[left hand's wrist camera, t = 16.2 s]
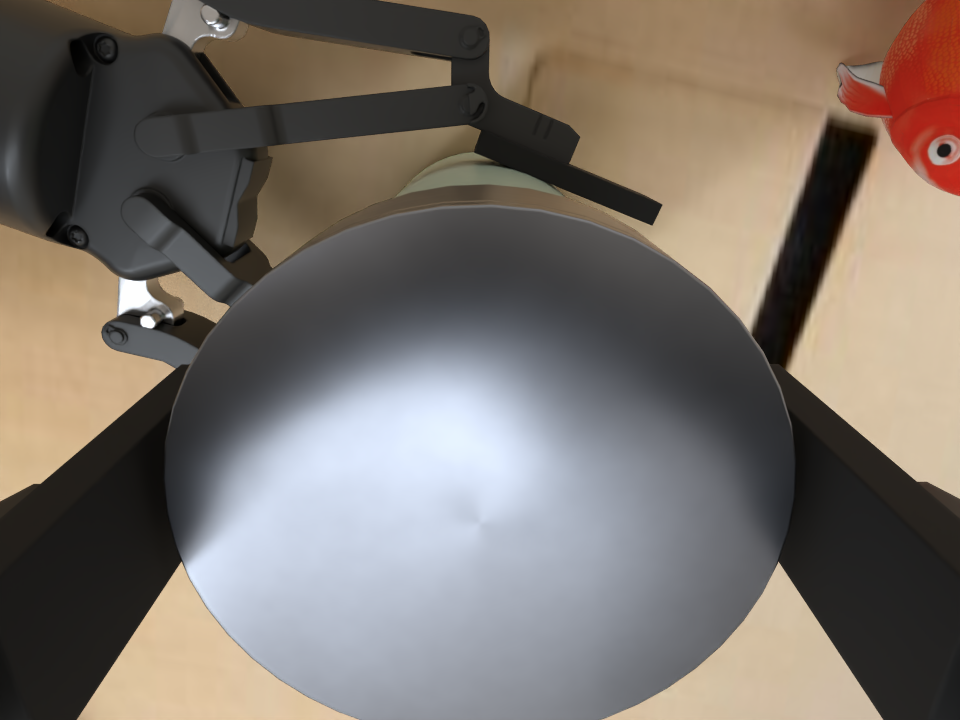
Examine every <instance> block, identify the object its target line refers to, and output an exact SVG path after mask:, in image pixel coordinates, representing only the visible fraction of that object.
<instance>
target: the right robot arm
mask: <svg viewBox="0 0 960 720" xmlns="http://www.w3.org/2000/svg"><path fill="white" fill-rule="evenodd" d="M249 25H252V26H255V27H257V28H260V29H263V30H266V31H269V32H272V33H276V34H281V35H285V36H292V37H298V38H305V39H311V40H317V41H324V42H330V43H337V44H343V45H349V46H356V47H362V48H368V49H375V50H381V51H388V52H394V53H400V54H407V55H413V56H420V57H426V58H432V59H439V60H445V61H451V86H443V87H434V88H425V89H416V90H406V91H397V92H388V93H379V94H370V95H361V96H351V97H342V98H333V99H324V100H315V101H305V102H296V103H287V104H278V105H264V106H253V107H243V105H242V104H241V103H240V101H239V100H238V98H237V97H236V96H235V94H234V93H233V92H232V90H231V89H230V87H229V86H228V85H227V83H226V82H225V81H224V79H223V78H222V77H221V75H220V74H219V72H218V71H217V70H216V68H215V67H214V66H213V64H212V63H211V61H210V60H209V59H208V57H207V56H206V55H205V53H204V52H203V51H204V49H205V47H206V45H207V44H208V43H209V42H211V41H213V40H216V39H222V40H226V41H230V42H234V41H238V40H240V39H242V38H243V37H244V36H245V34H246V32H247V29H248V27H249ZM489 41H490V40H489V31H488V28H487V26H486V24H485V23H484V22H483V21H482V20H481V19H480V18H477V17H475V16H472V15H465V14H459V13H453V12H447V11H440V10H434V9H428V8H422V7H416V6H409V5H403V4H397V3H391V2H384V1H378V0H172V3H171V6H170V9H169V13H168V16H167V19H166V23H165V26H164V29H163V32H162V34H161V33H154V34H148V35H142V36H134V35H131V34H128V33H125V32H123V31H120V30H118V29H115V28H113V27H110V26H108V25H105V24H103V23H100V22H98V21H95V20H93V19H91V18H88V17H86V16H83V15H81V14H78V13H76V12H73V11H71V10H68V9H66V8H63V7H61V6H58V5H56V4H53V3H51V2H48V1H46V0H0V224H2V225H5V226H8V227H11V228H14V229H16V230H19V231H22V232H25V233H28V234H30V235H33V236H36V237H39V238H42V239H45V240H47V241H51V242H54V243H58V244H61V245H65V246H69V247H73V248H77V249H80V250H83V251H85V252H87V253H89V254H91V255H93V256H94V257H95V258H97V259H98V260H99V261H101V262H102V263H103V264H104V265H105V266H106V267H107V268H108V269H109V270H110V271H111V272H113V273H114V274H116V275H117V276H119V286H118V309H117V317H116V318H114V319H112V320H111V321H109V322H107V323H106V324H105V325H104V326H103V328H102V332H101V333H102V338H103V340H104V342H105V343H106V344H107V345H108V346H109V347H110V348H112V349H114V350H117V351H120V352H125V353H129V354H133V355H138V356H142V357H146V358H151V359H155V360H160V361H164V362H165V363H167V364H169V365H171V366H172V367H174V368H178V367H179V366H180V365H181V364H191V362H192V360H193V359H194V357H195V355H196V353H197V352H198V350H199V348H200V347H201V345H202V343H203V341H204V340H205V338H206V336H207V335H208V334H209V332H210V331H211V330H212V329H213V328H214V326H215V325H216V323H214V322H212V321H210V320H209V319H207V318H205V317H202V316H200V315H197V314H195V313H192V312H189V311H186V310H184V308H183V307H184V302H183V301H182V299H180V298H179V297H174V296H172V295H170V294H168V293H166V292H165V291H164V290H163V289H162V287H161V286H160V284H159V281H158V277H161V276H165V275H169V274H172V273H176V272H180V271H182V272H183V273H184V274H185V275H186V276H187V277H188V278H190V279H191V280H192V281H193V282H194V283H195V284H196V285H197V286H198V287H199V288H200V289H202V290H203V291H204V292H205V293H206V294H207V295H208V296H209V297H211V298H212V299H213V300H215V301H217V302H221V303H225V304H227V305H229V306H230V307H231V306H232V304H233V303H234V302H235V301H236V300H238V299H239V298H240V297H241V296H242V295H243V294H244V293H245V292H246V291H248V290H249V289H250V288H251V287H252V286H253V285H254V284H255V283H256V282H258V281H259V280H260V279H261V278H262V277H263V276H264V275H265V274H266V273H268V272H269V271H270V270H272V267H271V266H270V264H269V261H268V259H267V257H266V256H265V254H264V253H263V252H262V251H261V250H260V249H259V248H258V247H257V246H256V245H254V244H253V243H252V242H251V241H250V240H249V239H250V238H252V237H253V234H254V230H255V226H256V222H257V195H258V193H259V192H260V190H261V188H262V187H263V185H264V183H265V181H266V180H267V178H268V174H269V170H270V167H271V163H272V159H273V157H270V156H268V150H267V146H274V145H282V144H290V143H300V142H309V141H319V140H328V139H337V138H347V137H356V136H366V135H375V134H384V133H394V132H403V131H413V130H422V129H431V128H441V127H450V126H460V125H470V126H472V127H475V128H477V129H479V130H481V133H480V135H479V138H478V141H477V144H476V146H475V151H474V153H476V154H479V155H481V156H483V157H486V158H488V159H491V160H493V161H496V162H498V163H501V164H503V165H505V166H508V167H510V168H513V169H515V170H518V171H520V172H523V173H525V174H528V175H530V176H532V177H535V178H537V179H540V180H542V181H545V182H547V183H549V184H552V185H554V186H557V187H559V188H562V189H564V190H567V191H569V192H571V193H574V194H576V195H579V196H581V197H584V198H586V199H589V200H591V201H593V202H596V203H598V204H601V205H603V206H606V207H608V208H610V209H613V210H615V211H618V212H620V213H623V214H625V215H628V216H630V217H632V218H635V219H637V220H640V221H642V222H645V223H647V224H650V225H653V223H654V221H655V219H656V217H657V215H658V213H659V211H660V209H661V207H662V204H660V203H658V202H656V201H654V200H653V199H651V198H649V197H647V196H645V195H643V194H640V193H638V192H636V191H633V190H631V189H628V188H626V187H624V186H621V185H619V184H616V183H614V182H612V181H609V180H607V179H604V178H602V177H600V176H597V175H595V174H592V173H590V172H587V171H585V170H583V169H580V168H578V167H575V166H573V165H571V164H569V162H570V160H571V158H572V155H573V153H574V151H575V148H576V146H577V144H578V141H579V139H580V136H579V135H578V134H577V133H576V132H575V131H574V130H573V129H572V128H571V127H570V126H569V125H567V124H565V123H562V122H560V121H558V120H555V119H553V118H551V117H548V116H546V115H544V114H541V113H539V112H537V111H534V110H532V109H530V108H527V107H525V106H523V105H520V104H518V103H515V102H513V101H511V100H508V99H506V98H504V97H502V96H500V95H499V94H498V93H497V92H496V91H495V90H494V88H493V87H492V85H491V82H490V79H489Z"/></svg>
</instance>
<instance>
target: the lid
mask: <svg viewBox="0 0 960 720" xmlns="http://www.w3.org/2000/svg"><path fill="white" fill-rule="evenodd" d="M163 481H164V491H165V500H166V509H167V516H168V520H169V523H170V527H171V531H172V535H173V538H174V542H175V546H176V549H177V551H178V554H179V556H180V558H181V561H182V563H183V565H184V568H185V570H186V572H187V575H188V577H189V579H190V581H191V583H192V584H193V586H194V588H195V589H196V591H197V593H198V594H199V596H200V598H201V599H202V601H203V602H204V604H205V606H206V607H207V609H208V610H209V611H210V613H211V614H212V615H213V616H214V618H215V619H216V620H217V621H218V623H219V624H220V625H221V627H222V628H223V629H224V630H225V632H226V633H227V634H228V635H229V636H230V637H231V638H232V639H233V640H234V641H235V642H236V643H237V644H238V645H239V646H240V647H241V648H242V649H243V650H244V651H245V652H246V653H247V654H248V655H249V656H250V657H251V658H252V659H254V660H255V661H256V662H257V663H259V664H260V665H261V666H262V667H264V668H265V669H266V670H268V671H269V672H270V673H271V674H273V675H274V676H275V677H277V678H278V679H279V680H281V681H282V682H284V683H286V684H287V685H289V686H291V687H292V688H294V689H295V690H297V691H299V692H300V693H302V694H304V695H305V696H307V697H309V698H311V699H313V700H315V701H317V702H319V703H321V704H323V705H325V706H327V707H329V708H331V709H333V710H335V711H338V712H340V713H343V714H345V715H348V716H351V717H354V718H356V719H359V720H601V719H604V718H607V717H609V716H612V715H614V714H617V713H619V712H621V711H624V710H626V709H628V708H631V707H633V706H635V705H638V704H639V703H641V702H643V701H645V700H647V699H649V698H650V697H652V696H654V695H656V694H658V693H659V692H661V691H663V690H665V689H667V688H668V687H670V686H671V685H673V684H674V683H675V682H677V681H678V680H680V679H681V678H683V677H684V676H685V675H687V674H688V673H690V672H691V671H693V670H694V669H695V668H697V667H698V666H699V665H700V664H701V663H702V662H703V661H705V660H706V659H707V658H708V657H709V656H710V655H711V654H712V653H714V652H715V651H716V650H717V649H718V648H719V647H720V646H721V645H722V644H723V643H724V642H725V641H726V640H727V639H728V638H729V636H730V635H731V634H732V633H733V632H734V631H735V630H736V629H737V627H738V626H739V625H740V624H741V623H742V622H743V621H744V619H745V618H746V616H747V615H748V613H749V612H750V611H751V609H752V608H753V606H754V605H755V603H756V602H757V600H758V599H759V598H760V596H761V595H762V593H763V591H764V589H765V587H766V585H767V583H768V581H769V579H770V577H771V575H772V573H773V572H774V570H775V568H776V566H777V564H778V561H779V558H780V555H781V552H782V549H783V546H784V544H785V541H786V538H787V535H788V532H789V528H790V522H791V517H792V511H793V506H794V500H795V486H796V455H795V448H794V440H793V433H792V425H791V421H790V418H789V414H788V411H787V408H786V404H785V401H784V398H783V394H782V391H781V388H780V386H779V383H778V381H777V379H776V377H775V375H774V373H773V371H772V369H771V367H770V365H769V363H768V361H767V359H766V357H765V355H764V353H763V351H762V350H761V348H760V347H759V345H758V344H757V342H756V341H755V340H754V338H753V337H752V335H751V334H750V332H749V331H748V330H747V328H746V327H745V325H744V324H743V322H742V321H741V320H740V318H739V317H738V316H737V315H736V314H735V313H734V312H733V311H732V310H731V309H730V308H729V307H728V306H727V305H726V304H725V303H724V302H723V301H722V299H721V298H720V297H719V296H718V295H717V294H716V293H715V292H714V291H713V290H712V289H711V288H710V287H709V286H707V285H706V284H705V283H703V282H702V281H701V280H700V279H698V278H697V277H696V276H694V275H693V274H692V273H690V272H689V271H688V270H687V269H685V268H684V267H683V266H681V265H680V264H679V263H678V262H676V261H675V260H674V259H672V258H671V257H670V256H668V255H667V254H666V253H665V252H663V251H662V250H661V249H659V248H658V247H657V246H655V245H654V244H653V243H651V242H650V241H649V240H648V239H646V238H645V237H644V236H642V235H641V234H640V233H638V232H637V231H636V230H634V229H633V228H631V227H629V226H627V225H626V224H624V223H622V222H620V221H618V220H617V219H615V218H613V217H611V216H610V215H608V214H606V213H604V212H603V211H600V210H597V209H595V208H592V207H590V206H587V205H585V204H582V203H580V202H577V201H575V200H572V199H569V198H567V197H563V196H559V195H555V194H550V193H546V192H542V191H538V190H534V189H530V188H521V187H511V186H501V185H491V184H484V185H456V186H445V187H439V188H434V189H428V190H422V191H416V192H411V193H408V194H404V195H401V196H398V197H395V198H392V199H389V200H386V201H382V202H379V203H376V204H373V205H371V206H369V207H367V208H365V209H363V210H361V211H359V212H357V213H355V214H352V215H350V216H348V217H346V218H344V219H342V220H340V221H338V222H337V223H335V224H334V225H332V226H331V227H329V228H328V229H326V230H325V231H323V232H322V233H320V234H319V235H317V236H316V237H314V238H313V239H311V240H310V241H308V242H307V243H306V244H305V245H303V246H302V247H301V248H299V249H298V250H297V251H295V252H294V253H293V254H291V255H290V256H289V257H287V258H286V259H285V260H284V261H282V262H281V263H280V264H278V265H277V266H276V267H274V268H273V269H272V270H270V271H269V272H268V273H266V274H265V275H264V276H263V277H262V278H261V279H260V280H259V281H258V282H256V283H255V284H254V285H253V286H252V287H251V288H250V289H249V290H248V291H246V292H245V293H244V294H243V295H242V296H241V297H240V298H239V299H238V300H236V301H235V302H234V303H233V304H232V306H231V307H230V308H229V309H228V310H227V312H226V313H225V314H224V315H223V317H222V318H221V319H220V320H219V321H218V323H217V324H216V325H215V326H214V328H213V329H212V330H211V331H210V332H209V334H208V335H207V336H206V338H205V340H204V341H203V343H202V345H201V347H200V348H199V350H198V352H197V353H196V355H195V357H194V359H193V360H192V362H191V364H190V365H189V367H188V369H187V371H186V373H185V376H184V378H183V381H182V384H181V386H180V389H179V391H178V394H177V397H176V399H175V402H174V404H173V408H172V412H171V417H170V422H169V426H168V431H167V436H166V441H165V455H164V475H163Z"/></svg>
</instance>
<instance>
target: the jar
mask: <svg viewBox="0 0 960 720" xmlns="http://www.w3.org/2000/svg"><path fill="white" fill-rule="evenodd" d="M484 184H491V185H501V186H511V187H521V188H530V189H534V190H538V191H542V192H546V193H550V194H555V195H559V196H563V197H565V196H564V195H563V194H562V193H561V192H560V191H559V190H558V189H557V188H556V187H555V186H554V185H552V184H549V183H547V182H545V181H542V180H540V179H537V178H535V177H532V176H530V175H528V174H525V173H523V172H520V171H518V170H515V169H513V168H510V167H508V166H505V165H503V164H501V163H498V162H496V161H493V160H491V159H488V158H486V157H483V156H481V155H479V154H476V153H474V152H469V153H462V154H458V155H453V156H450V157H447V158H445V159H442V160H440V161H437V162H436V163H434V164H432V165H430V166H429V167H427V168H425V169H424V170H423V171H421V172H420V173H419V174H417V175H416V176H415V177H414V178H413V179H412V180H411V181H410V182H409V183H408V184H407V185H406V186H405V187H404V188H403V189H402V190H401V191H400V192H399V193H398V194H397V195H396V196H395V197H398V196H401V195H404V194H408V193H411V192H416V191H422V190H428V189H434V188H439V187H445V186H456V185H484ZM395 197H394V198H395Z"/></svg>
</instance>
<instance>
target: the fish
mask: <svg viewBox="0 0 960 720" xmlns="http://www.w3.org/2000/svg"><path fill="white" fill-rule="evenodd" d="M837 77H838V80H839V89H838V94H837V96H838V98H839V100H840V101H841V103H843V104H845V105H846V107H847V108H848V109H849V110H850V112H854V113H857V114H860V115H863V116H868V117H881V118H882V122H883V124H884V126H885V128H886V130H887V132H888V134H889V136H890V138H891V141H892V143H893V145H894V146H895V147H896V149H897V150H898V151H899V152H900V154H901V155H902V156H903V158H904V159H905V160H906V162H907V163H908V164H909V165H910V167H911V168H912V169H913V170H914V171H915V172H916V173H917V174H918V175H919V176H920V177H921V178H922V179H924V180H925V181H926V182H927V183H929V184H931V185H932V186H934V187H936V188H938V189H940V190H943V191H945V192H948V193H951V194H954V195H957V196H960V0H925V2H923V3H922V4H921V5H920V6H919V8H918V9H917V10H916V11H915V12H914V13H913V14H912V16H911V17H910V18H909V20H908V21H907V22H906V24H905V25H904V26H903V28H902V30H901V31H900V33H899V34H898V36H897V37H896V39H895V40H894V42H893V43H892V45H891V47H890V49H889V51H888V52H887V54H886V57H885V59H884V62H874V63H870V64H865V65H857V66H845V65H844V64H843V63H840V64H839V66H838V67H837Z"/></svg>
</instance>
